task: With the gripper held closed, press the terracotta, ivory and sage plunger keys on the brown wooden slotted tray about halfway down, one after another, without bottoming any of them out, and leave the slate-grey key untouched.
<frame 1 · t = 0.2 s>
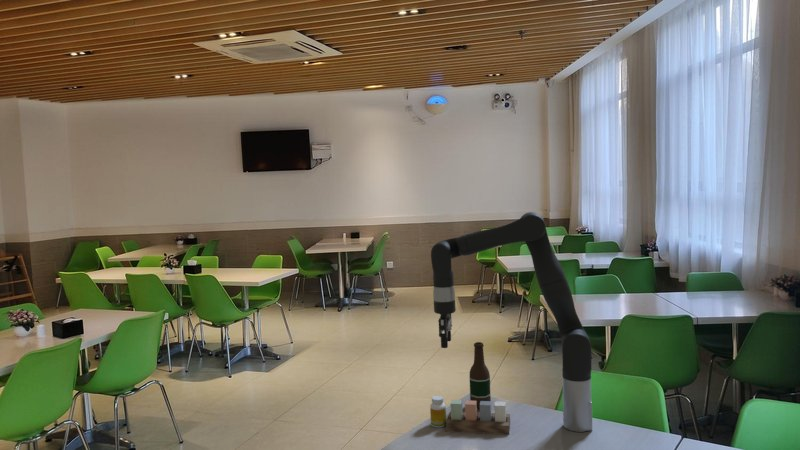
hand: (446, 344, 214), 28 cm above the table, tool pointing down, fingers open, 8 cm apart
brown wooden slotted tray: (478, 426, 211), on the table
key terracotta: (471, 410, 211), point 6 cm above the table, slide at 0.0 cm
key ivory: (500, 412, 208), point 5 cm above the table, slide at 0.0 cm
beer bottle: (480, 406, 229), on the table
key slate: (485, 411, 209), point 6 cm above the table, slide at 0.0 cm
supplement bottle: (438, 425, 214), on the table
key sage: (456, 410, 212), point 5 cm above the table, slide at 0.0 cm
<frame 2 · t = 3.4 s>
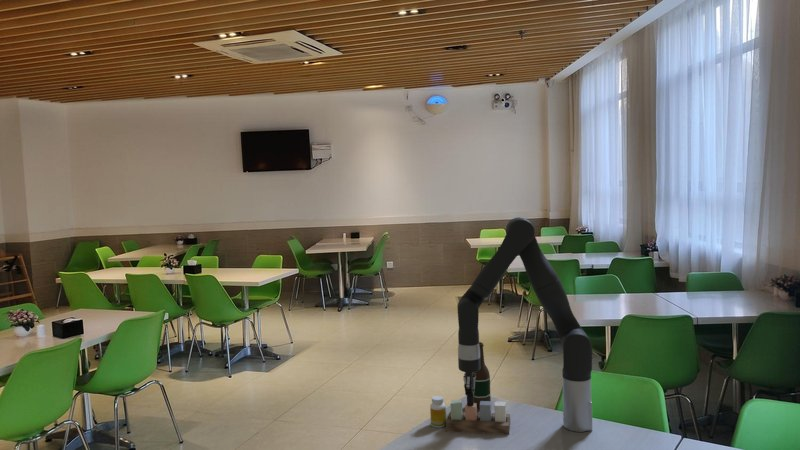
hand: (470, 405, 210), 8 cm above the table, tool pointing down, fingers closed
key terracotta: (471, 413, 211), point 5 cm above the table, slide at 0.9 cm, touching gripper
everything else where it was.
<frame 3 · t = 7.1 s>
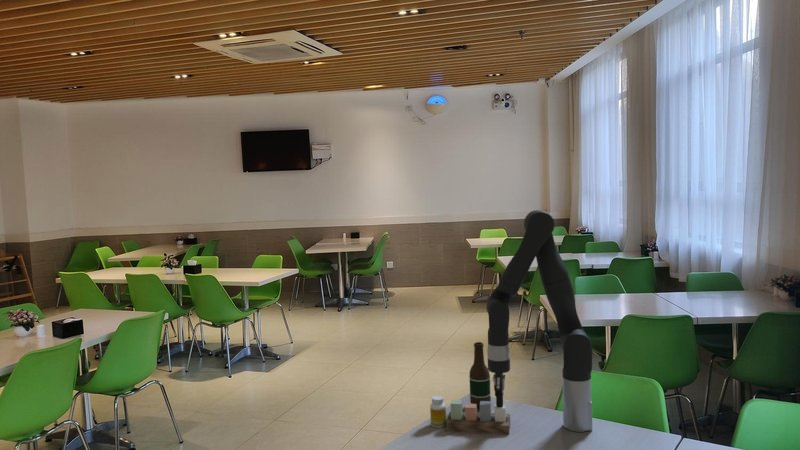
hand: (499, 406, 208), 8 cm above the table, tool pointing down, fingers closed
key terracotta: (471, 414, 211), point 4 cm above the table, slide at 1.1 cm
key ivory: (500, 414, 208), point 5 cm above the table, slide at 0.9 cm, touching gripper
everything else where it was.
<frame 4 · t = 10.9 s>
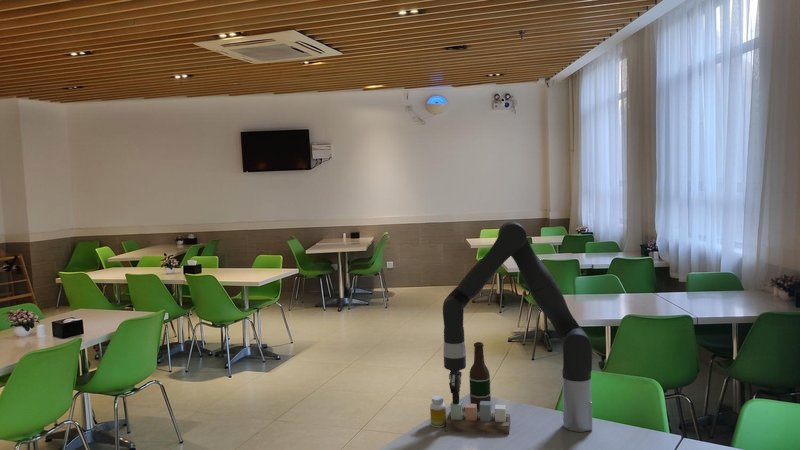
hand: (456, 403, 211), 8 cm above the table, tool pointing down, fingers closed
key ivory: (500, 415, 209), point 4 cm above the table, slide at 1.1 cm
key sage: (456, 411, 212), point 5 cm above the table, slide at 0.4 cm, touching gripper
everything else where it was.
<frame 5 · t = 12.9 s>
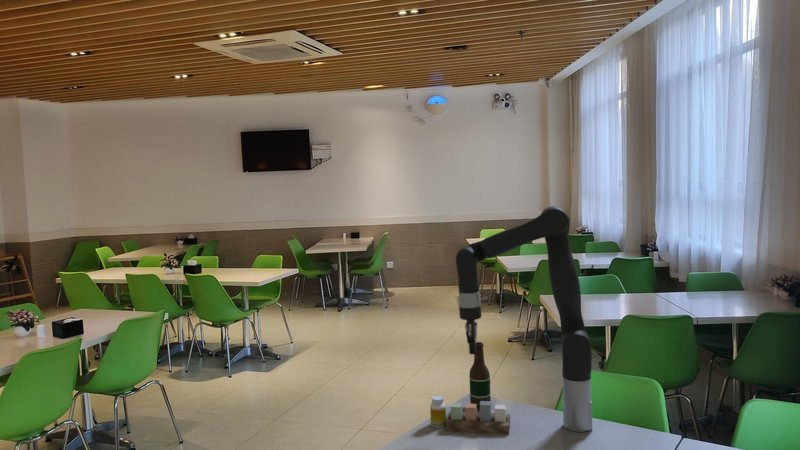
hand: (472, 353, 212), 25 cm above the table, tool pointing down, fingers closed
key sage: (456, 413, 212), point 4 cm above the table, slide at 1.1 cm
everything else where it was.
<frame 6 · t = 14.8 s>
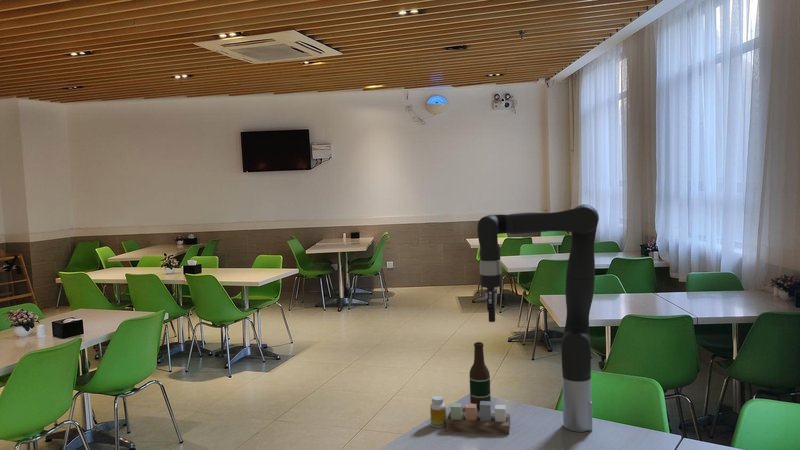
hand: (492, 321, 214), 35 cm above the table, tool pointing down, fingers closed
nothing on the table moved.
at the end: key terracotta slide at 1.1 cm; key ivory slide at 1.1 cm; key sage slide at 1.1 cm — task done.
